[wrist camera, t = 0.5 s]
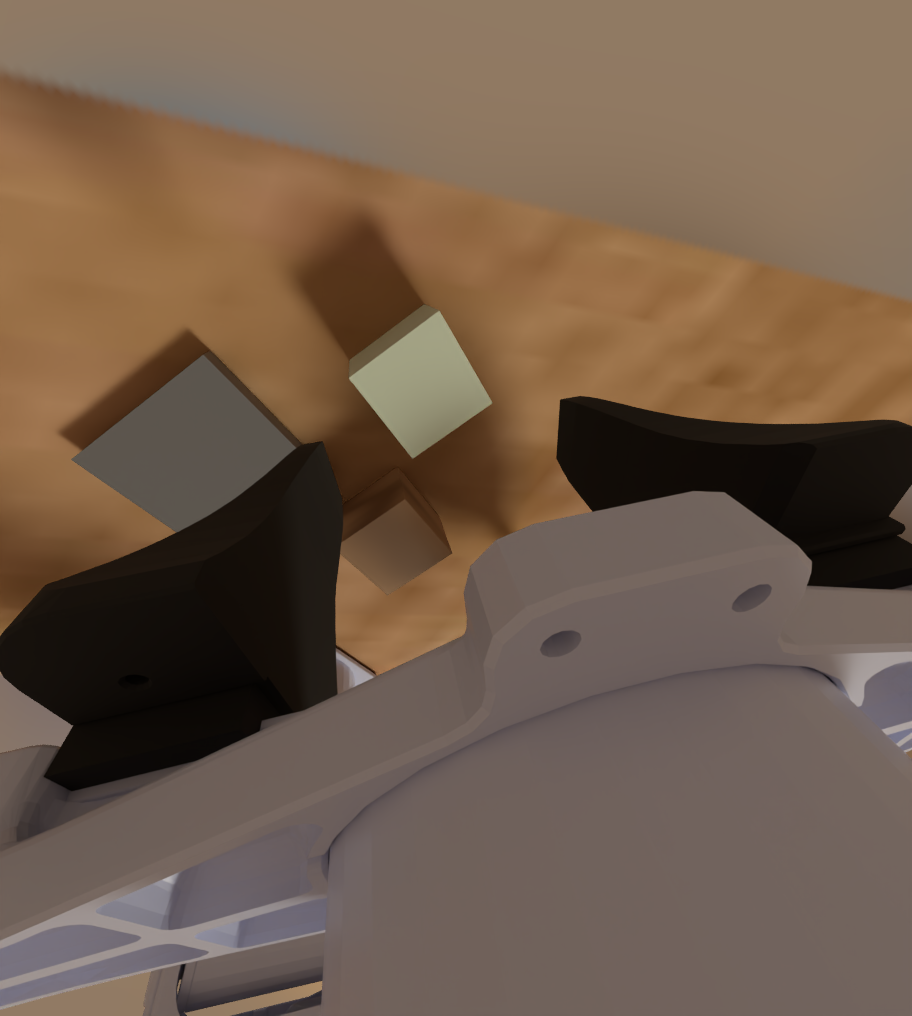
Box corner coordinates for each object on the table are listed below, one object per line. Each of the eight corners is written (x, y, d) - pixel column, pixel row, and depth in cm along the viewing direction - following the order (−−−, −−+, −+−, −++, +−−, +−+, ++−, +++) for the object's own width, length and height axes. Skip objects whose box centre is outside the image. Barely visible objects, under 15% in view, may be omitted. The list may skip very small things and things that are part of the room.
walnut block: (383, 553, 25) (387, 595, 22) (336, 508, 23) (333, 548, 20) (438, 516, 25) (452, 553, 22) (397, 465, 22) (404, 499, 19)
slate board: (225, 551, 23) (220, 562, 22) (83, 451, 18) (71, 459, 17) (332, 475, 22) (331, 483, 21) (210, 350, 17) (203, 354, 17)
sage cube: (403, 430, 21) (412, 458, 18) (349, 359, 19) (348, 378, 16) (470, 382, 21) (492, 403, 18) (423, 303, 18) (439, 310, 15)
